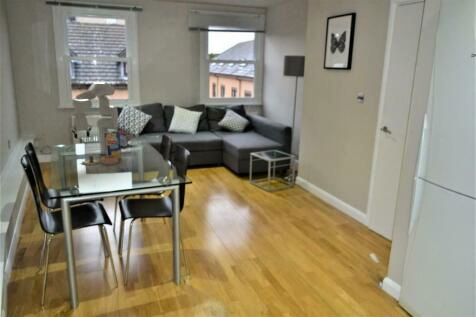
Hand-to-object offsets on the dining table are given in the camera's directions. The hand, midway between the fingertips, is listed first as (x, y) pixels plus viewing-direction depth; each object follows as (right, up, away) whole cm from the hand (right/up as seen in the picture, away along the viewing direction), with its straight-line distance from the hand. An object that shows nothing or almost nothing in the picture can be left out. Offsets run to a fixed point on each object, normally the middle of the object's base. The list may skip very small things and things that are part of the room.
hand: (82, 137), depth 294 cm
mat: (+5, -20, +5) cm, 22 cm away
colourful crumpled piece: (+7, -5, +74) cm, 75 cm away
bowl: (+20, -20, +7) cm, 29 cm away
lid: (+5, -20, +5) cm, 21 cm away
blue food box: (+17, -16, +23) cm, 33 cm away
